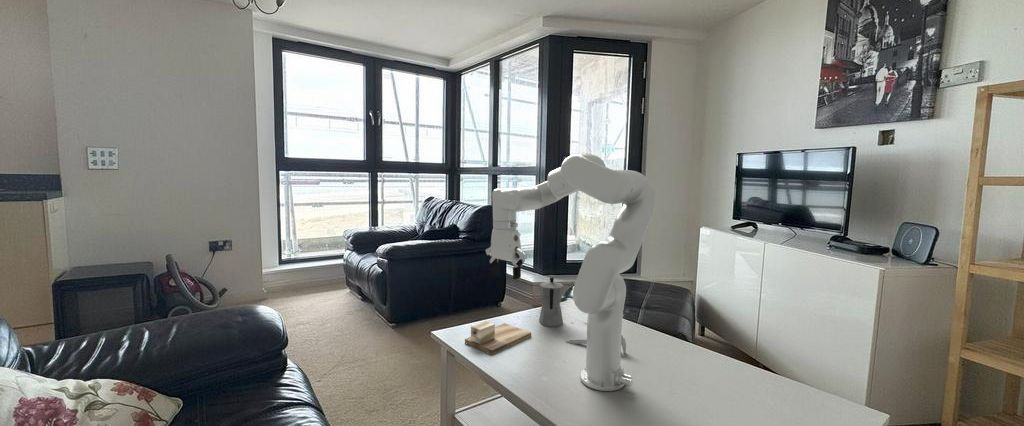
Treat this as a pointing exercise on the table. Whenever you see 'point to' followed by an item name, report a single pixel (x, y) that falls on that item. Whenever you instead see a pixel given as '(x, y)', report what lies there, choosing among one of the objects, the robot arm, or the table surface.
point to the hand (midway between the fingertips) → (505, 276)
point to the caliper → (584, 341)
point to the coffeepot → (551, 303)
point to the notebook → (501, 339)
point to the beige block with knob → (482, 332)
